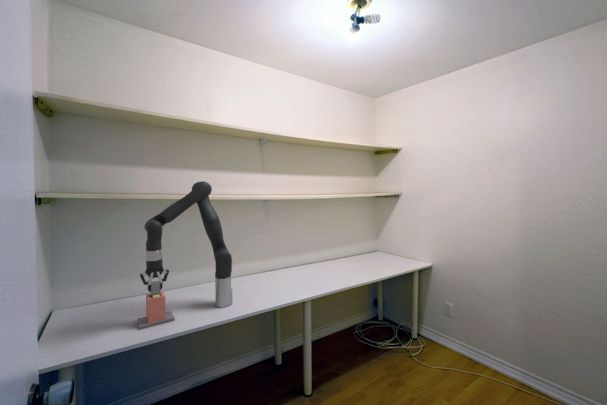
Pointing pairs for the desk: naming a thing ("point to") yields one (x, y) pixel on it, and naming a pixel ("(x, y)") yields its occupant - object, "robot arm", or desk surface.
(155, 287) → the steel column
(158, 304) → the stand sleeve
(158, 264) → the robot arm
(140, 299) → the desk surface
